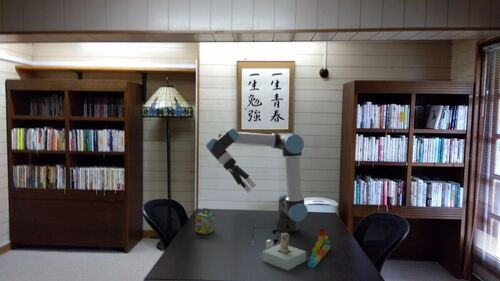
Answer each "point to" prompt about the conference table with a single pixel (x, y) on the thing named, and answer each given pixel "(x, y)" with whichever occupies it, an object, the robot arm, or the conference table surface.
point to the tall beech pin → (284, 243)
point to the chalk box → (205, 222)
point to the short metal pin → (269, 243)
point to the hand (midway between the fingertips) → (252, 188)
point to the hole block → (284, 257)
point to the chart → (318, 256)
